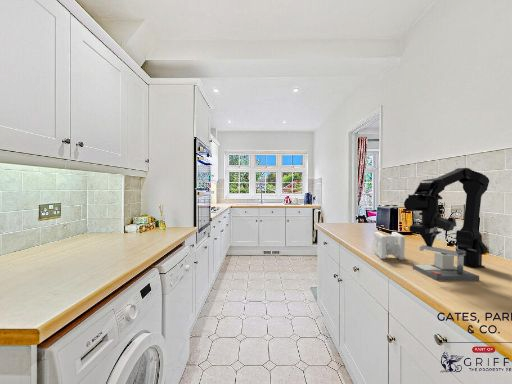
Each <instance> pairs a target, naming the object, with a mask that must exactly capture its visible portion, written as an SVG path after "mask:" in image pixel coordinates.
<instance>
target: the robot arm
mask: <svg viewBox="0 0 512 384" xmlns="http://www.w3.org/2000/svg"><path fill="white" fill-rule="evenodd" d="M456 182H458V183H460V184H462V189H463V191H464V192H465V194H466V196H465V197H466V198H465V207H464V216H463V223H462V227H461V228H460V229H458V230H456V233H455V234H456V236H455V238H454V239H455V241H456V242H455V243H456V247H457V250H464V251H466V253H465V254H464V262H463V266H466V267H469V268H486V266H485V265H483V262H482V261H483V255H485V254H487V252H488V247H487V246H486V244H485V243H484V242H483V235H482V234H481V231H479V222H480V221H479V220H480V212H481V202H482V197H483V194H485V193H486V191H487V190H488V188H489V184H490V178H488V177H487V175H485V174H484V173H481V172H478V171H475V170H473V169H471V168H468V167H458V168H456V169H454V170H452V171H449V172H447V173H445V174H442V175H441V176H438V177H435V178H434V177H433V178H429V179H422V180H421V181H420V182H419V184H418V185H417V188H416V189H415V191H414V192H413V194H408V197H407V198H405V200H404V202H403V206H404V209H405V210H406V211H407V212H419V213H418V214H419V216H421V221H420V222H419V223H418V224H417V223H416V224H411V225H410V226H409V228H408V231H409V233H410V232H411V233H416V234H420V236H421V238H422V239H423V241H424V243H425V245H426V246H431V247H433V244H434V241H435V239H436V237H437V236H438V235H439V234H441V233H442V231H441V230H440V231H439V230H438V229H442V230H443V231H445V232H450V231H451V232H452V231H453V230H454V228H455V227H457V222H456V218H454V217H451V216H450V217H448V218H446V217H442V213H440V212H439V200H443V197H442V196H441V195H440V193H441V192H443V191H444V190H445V189H446V187H447V186H450V185H451V184H454V183H456Z"/></svg>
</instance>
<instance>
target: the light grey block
mask: <svg viewBox="0 0 512 384" xmlns="http://www.w3.org/2000/svg"><path fill="white" fill-rule="evenodd" d="M433 254H434V257H433V258H434V261H433V263H434V264H433V265H434V266H436V267H439V268H441V269H454V266H455V265H454V264H455V256H454V255H449V254H445V253H440V252H434V253H433Z"/></svg>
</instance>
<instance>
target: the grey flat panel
mask: <svg viewBox="0 0 512 384" xmlns="http://www.w3.org/2000/svg"><path fill="white" fill-rule="evenodd" d="M412 269H413V270H415V271H416V272H419V273H421V274H423V275H424V276H426V277H429V278H430V279H433V280H435V281H480V276H479V275H478V274H475V273H472V272H470V271H467V270H465V269H463V274H458V273H457V266H455V265H454V269H441V268H439V267H436V266H434V264H412Z"/></svg>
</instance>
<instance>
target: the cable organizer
mask: <svg viewBox="0 0 512 384" xmlns="http://www.w3.org/2000/svg"><path fill="white" fill-rule="evenodd" d="M373 234H374V235H373V253H375V254H376V256H377V257H378V258H379V259H381V260H383V259H386V258H387V257H389V255H392V256H394V257H396V258H397V259H398V260H399V261H402V260H404V259H405V252H406V251H405V249H406V248H405V246H406V243H405V242H406V239H405V236H404V235H403V234H401V233H399V232H396V231H392V232H391V234H390V235H388V234H383V233H381V232H380V231H374V232H373Z"/></svg>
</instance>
